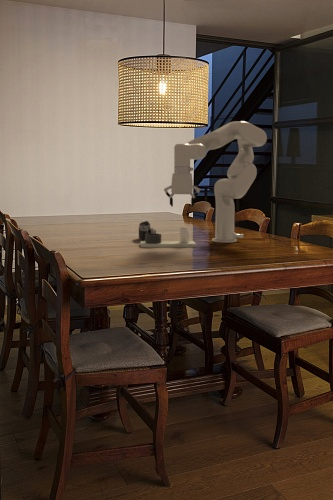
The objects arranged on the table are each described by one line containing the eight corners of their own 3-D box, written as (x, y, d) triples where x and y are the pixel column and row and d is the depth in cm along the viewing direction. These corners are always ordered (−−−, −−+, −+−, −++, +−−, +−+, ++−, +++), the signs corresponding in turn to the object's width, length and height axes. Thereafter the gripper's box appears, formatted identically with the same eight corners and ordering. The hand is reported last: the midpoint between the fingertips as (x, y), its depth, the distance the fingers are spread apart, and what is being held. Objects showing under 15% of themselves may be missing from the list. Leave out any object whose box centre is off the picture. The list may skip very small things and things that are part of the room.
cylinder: (188, 241, 276) (188, 227, 275) (189, 243, 272) (189, 228, 271) (179, 241, 276) (179, 227, 275) (180, 243, 271) (180, 228, 270)
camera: (158, 242, 286) (158, 222, 285) (141, 242, 285) (141, 222, 283) (153, 238, 301) (153, 219, 300) (138, 238, 300) (138, 219, 299)
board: (193, 244, 279) (193, 241, 279) (196, 247, 269) (196, 243, 269) (140, 244, 277) (140, 241, 277) (141, 247, 268) (141, 244, 267)
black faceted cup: (160, 241, 277) (160, 233, 276) (161, 243, 269) (161, 235, 269) (145, 241, 276) (145, 233, 276) (145, 243, 269) (145, 235, 268)
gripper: (199, 170, 273) (199, 205, 276) (163, 170, 273) (163, 205, 275) (201, 170, 266) (200, 207, 268) (164, 170, 265) (164, 207, 268)
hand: (182, 206), depth 272 cm, fingers open, 9 cm apart
